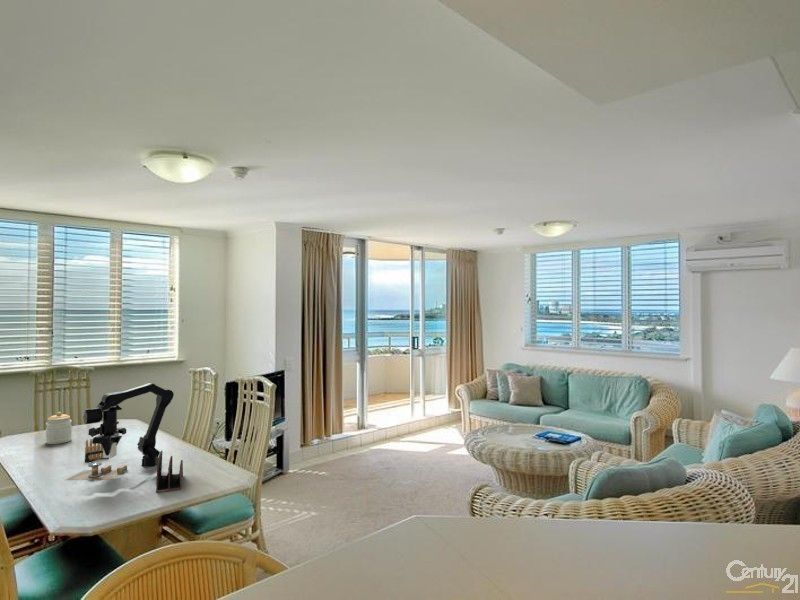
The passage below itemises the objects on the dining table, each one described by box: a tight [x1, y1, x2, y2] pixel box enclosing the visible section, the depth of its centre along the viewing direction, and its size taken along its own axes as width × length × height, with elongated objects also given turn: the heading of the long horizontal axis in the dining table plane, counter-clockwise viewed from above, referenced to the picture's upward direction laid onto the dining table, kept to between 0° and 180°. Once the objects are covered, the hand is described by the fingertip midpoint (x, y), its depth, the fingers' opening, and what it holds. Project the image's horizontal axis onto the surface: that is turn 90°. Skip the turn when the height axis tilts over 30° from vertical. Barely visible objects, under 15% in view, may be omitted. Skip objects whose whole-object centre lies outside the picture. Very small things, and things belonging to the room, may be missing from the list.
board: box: [65, 469, 121, 481], centre depth 230 cm, size 21×14×2 cm, turn 90°
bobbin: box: [87, 461, 102, 478], centre depth 229 cm, size 5×5×6 cm
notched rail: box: [100, 464, 128, 475], centre depth 234 cm, size 10×5×2 cm, turn 90°
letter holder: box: [155, 450, 184, 494], centre depth 222 cm, size 10×20×14 cm, turn 22°
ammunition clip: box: [84, 438, 110, 464], centre depth 257 cm, size 11×2×12 cm, turn 131°
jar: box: [45, 411, 73, 445], centre depth 295 cm, size 13×13×18 cm
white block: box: [103, 443, 118, 459], centre depth 232 cm, size 4×4×6 cm
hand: (109, 453), depth 232 cm, fingers closed on white block, 4 cm apart
